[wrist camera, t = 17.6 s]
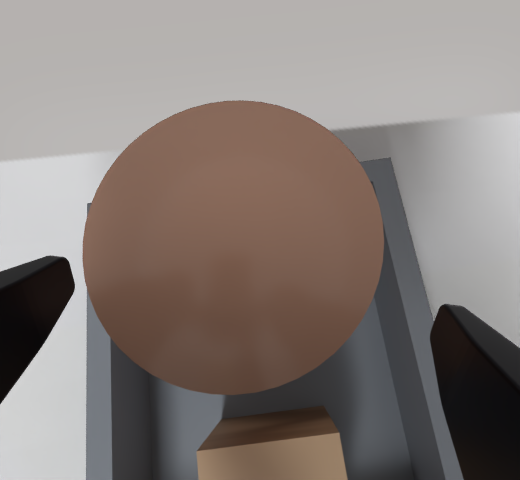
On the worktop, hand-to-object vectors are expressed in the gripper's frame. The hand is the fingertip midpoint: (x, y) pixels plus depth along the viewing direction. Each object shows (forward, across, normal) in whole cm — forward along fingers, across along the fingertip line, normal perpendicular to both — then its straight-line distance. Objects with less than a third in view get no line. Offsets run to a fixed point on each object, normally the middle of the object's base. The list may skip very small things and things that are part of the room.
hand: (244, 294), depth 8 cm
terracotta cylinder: (+8, 0, +6) cm, 10 cm away
